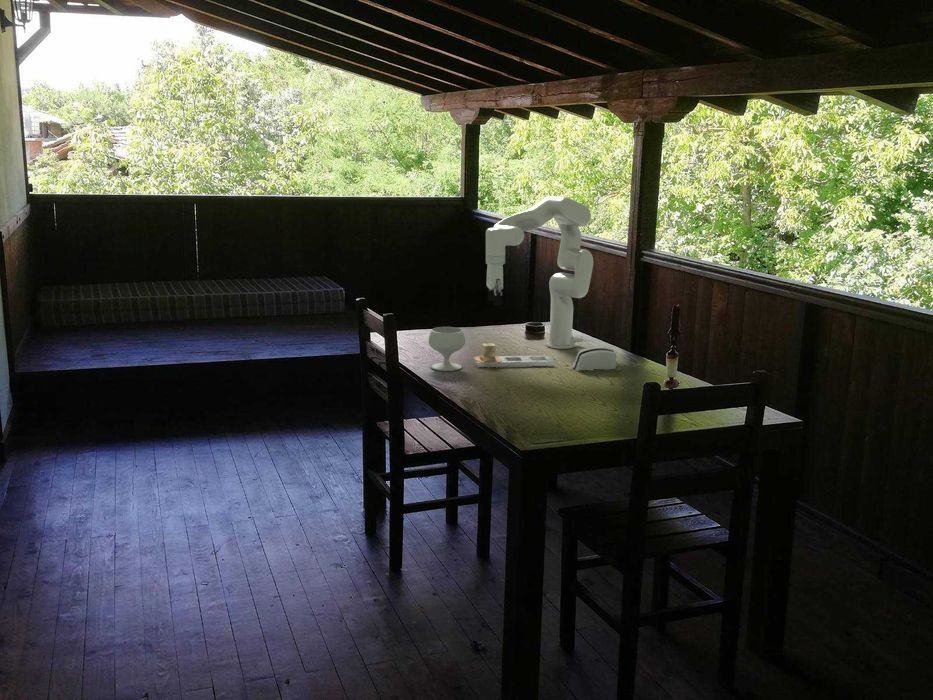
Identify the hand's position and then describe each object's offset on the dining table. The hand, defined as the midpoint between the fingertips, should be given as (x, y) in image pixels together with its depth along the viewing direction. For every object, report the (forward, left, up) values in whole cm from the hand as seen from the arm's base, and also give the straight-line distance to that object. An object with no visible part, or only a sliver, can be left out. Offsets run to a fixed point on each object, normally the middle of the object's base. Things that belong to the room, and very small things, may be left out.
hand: (495, 303), depth 346 cm
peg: (+4, +7, -23) cm, 25 cm away
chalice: (+21, +11, -23) cm, 33 cm away
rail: (-6, +7, -23) cm, 25 cm away
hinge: (-36, +18, -24) cm, 47 cm away
